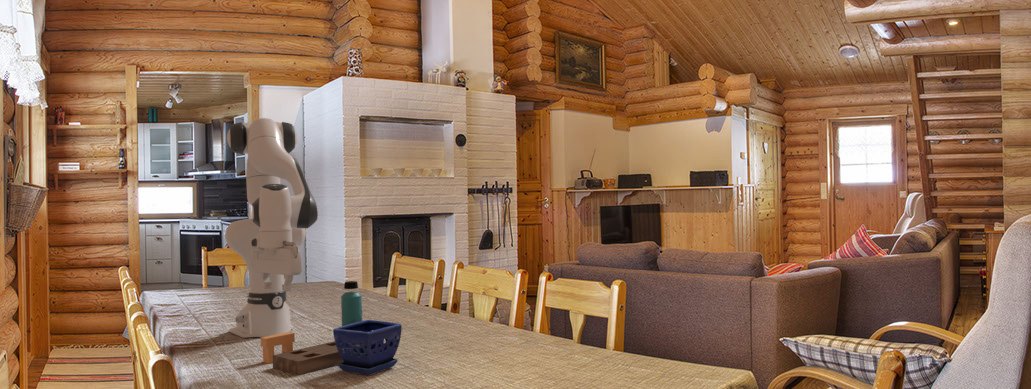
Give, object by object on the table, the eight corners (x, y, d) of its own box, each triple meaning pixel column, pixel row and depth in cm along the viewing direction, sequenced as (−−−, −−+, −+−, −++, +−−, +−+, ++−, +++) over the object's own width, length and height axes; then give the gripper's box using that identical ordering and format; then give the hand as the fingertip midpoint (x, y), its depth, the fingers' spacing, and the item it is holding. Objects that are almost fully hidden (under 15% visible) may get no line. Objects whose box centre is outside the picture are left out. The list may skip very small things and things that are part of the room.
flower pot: (369, 379, 172) (368, 332, 172) (332, 372, 179) (331, 327, 179) (404, 367, 184) (403, 323, 184) (368, 361, 191) (367, 318, 191)
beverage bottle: (358, 349, 206) (356, 282, 205) (337, 348, 207) (336, 282, 207) (366, 344, 212) (365, 280, 212) (347, 343, 213) (345, 279, 213)
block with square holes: (273, 368, 185) (272, 355, 185) (345, 350, 204) (345, 339, 204) (298, 374, 177) (298, 361, 177) (371, 356, 196) (371, 344, 196)
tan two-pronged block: (266, 363, 190) (266, 338, 190) (261, 362, 191) (260, 337, 191) (294, 357, 197) (294, 333, 197) (289, 355, 198) (288, 331, 198)
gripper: (307, 241, 190) (308, 290, 190) (266, 239, 202) (267, 285, 202) (287, 242, 185) (288, 293, 185) (246, 240, 197) (247, 288, 197)
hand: (276, 289), depth 194 cm, fingers open, 8 cm apart
